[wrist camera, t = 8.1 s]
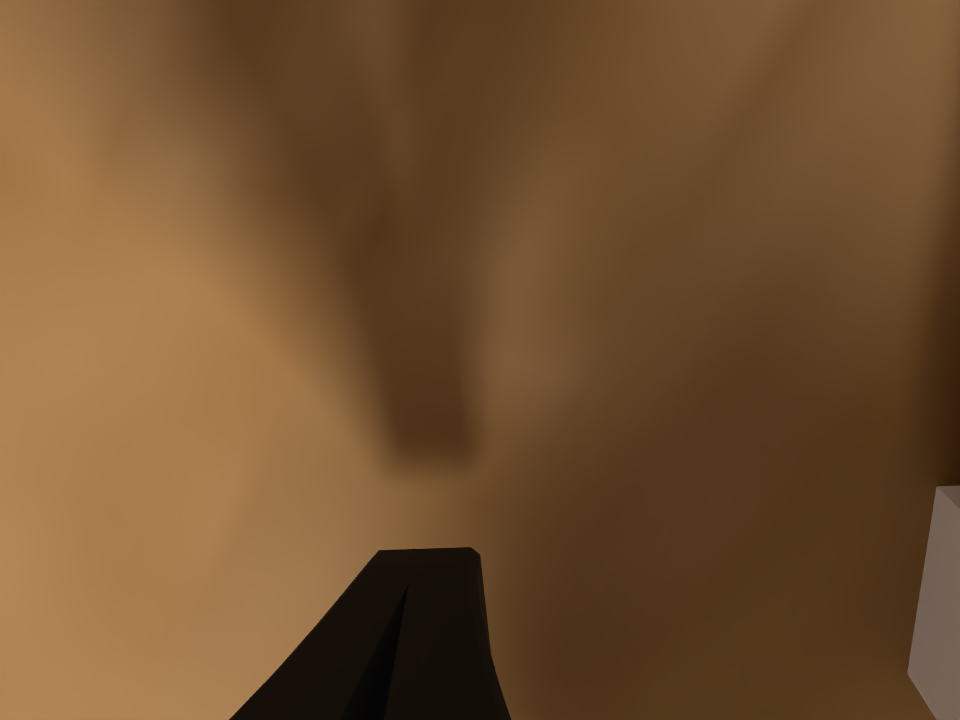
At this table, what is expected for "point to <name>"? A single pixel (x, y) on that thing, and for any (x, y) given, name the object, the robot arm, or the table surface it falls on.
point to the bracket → (939, 612)
